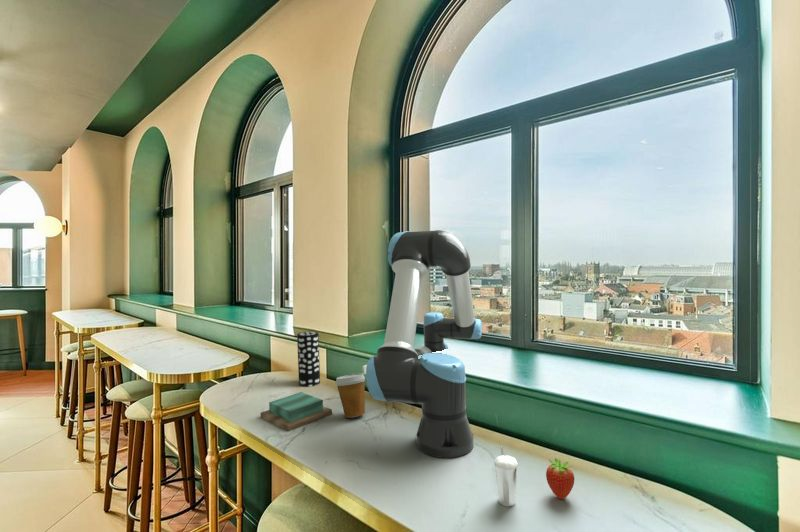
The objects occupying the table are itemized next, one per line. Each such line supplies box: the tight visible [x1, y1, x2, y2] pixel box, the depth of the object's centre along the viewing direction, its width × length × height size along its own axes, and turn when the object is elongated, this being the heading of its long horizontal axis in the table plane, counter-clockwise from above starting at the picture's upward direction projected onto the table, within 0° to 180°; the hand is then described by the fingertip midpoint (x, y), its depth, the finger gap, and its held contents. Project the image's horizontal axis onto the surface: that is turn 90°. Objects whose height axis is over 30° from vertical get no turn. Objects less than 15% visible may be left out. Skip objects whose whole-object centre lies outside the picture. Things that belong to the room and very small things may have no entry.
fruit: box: [545, 457, 575, 500], centre depth 83 cm, size 5×5×8 cm
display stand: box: [260, 391, 333, 432], centre depth 130 cm, size 16×16×5 cm
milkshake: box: [494, 445, 519, 507], centre depth 83 cm, size 4×5×10 cm
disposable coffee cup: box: [335, 372, 366, 418], centre depth 128 cm, size 10×10×12 cm
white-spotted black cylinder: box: [296, 331, 321, 388], centre depth 162 cm, size 8×8×20 cm
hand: (377, 373), depth 134 cm, fingers open, 13 cm apart
